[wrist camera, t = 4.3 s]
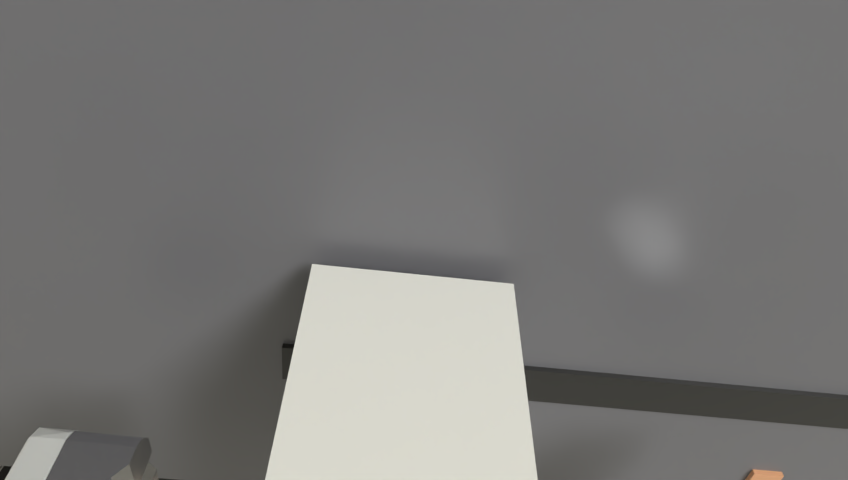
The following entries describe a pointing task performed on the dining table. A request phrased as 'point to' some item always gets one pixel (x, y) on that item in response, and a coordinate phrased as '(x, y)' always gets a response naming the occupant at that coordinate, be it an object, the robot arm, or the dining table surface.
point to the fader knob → (404, 381)
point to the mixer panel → (433, 216)
